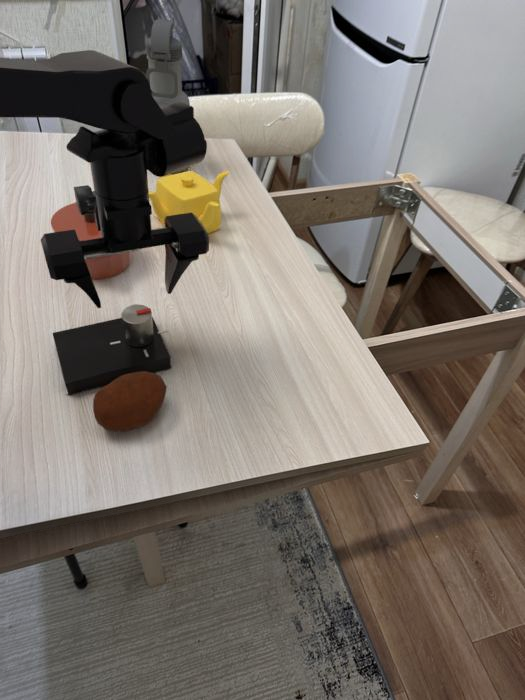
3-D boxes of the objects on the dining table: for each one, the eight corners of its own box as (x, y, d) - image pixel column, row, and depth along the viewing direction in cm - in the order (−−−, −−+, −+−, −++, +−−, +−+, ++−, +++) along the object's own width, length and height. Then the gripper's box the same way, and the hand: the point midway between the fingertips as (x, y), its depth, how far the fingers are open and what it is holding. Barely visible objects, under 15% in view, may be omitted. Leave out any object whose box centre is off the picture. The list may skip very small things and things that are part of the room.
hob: (68, 395, 64) (64, 382, 62) (56, 345, 70) (52, 331, 68) (178, 366, 69) (178, 353, 67) (158, 322, 75) (157, 309, 73)
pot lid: (59, 252, 74) (54, 231, 72) (46, 211, 82) (41, 192, 79) (139, 239, 79) (137, 219, 76) (120, 202, 86) (118, 183, 84)
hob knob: (129, 350, 67) (125, 324, 64) (121, 331, 69) (118, 306, 66) (157, 343, 68) (155, 318, 65) (149, 325, 71) (146, 300, 67)
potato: (90, 405, 63) (82, 372, 58) (160, 385, 66) (157, 352, 62) (103, 447, 59) (95, 415, 54) (176, 424, 62) (175, 392, 58)
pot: (73, 294, 78) (64, 256, 73) (55, 239, 88) (46, 201, 83) (143, 281, 82) (139, 243, 77) (119, 229, 92) (114, 193, 87)
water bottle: (187, 177, 109) (185, 33, 90) (144, 173, 109) (132, 27, 89) (192, 157, 117) (191, 20, 97) (151, 153, 116) (141, 14, 96)
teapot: (161, 200, 101) (158, 154, 94) (228, 209, 101) (230, 164, 94) (142, 238, 91) (138, 190, 84) (217, 248, 91) (218, 201, 84)
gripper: (180, 149, 61) (182, 253, 72) (20, 164, 54) (49, 276, 65) (212, 190, 54) (209, 298, 65) (33, 213, 48) (64, 329, 59)
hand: (134, 298), depth 64 cm, fingers open, 9 cm apart
